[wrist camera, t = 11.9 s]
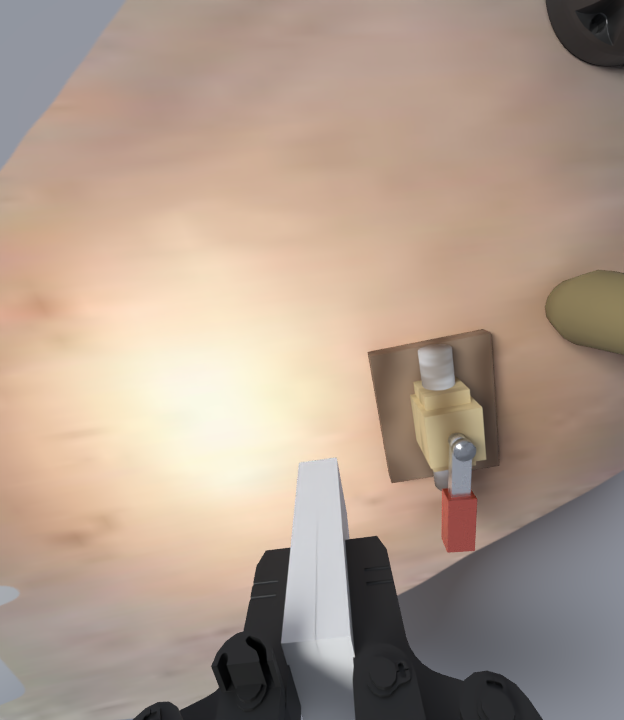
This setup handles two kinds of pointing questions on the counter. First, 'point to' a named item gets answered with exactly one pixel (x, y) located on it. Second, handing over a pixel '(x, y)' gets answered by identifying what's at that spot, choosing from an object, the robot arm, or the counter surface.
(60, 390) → the counter surface
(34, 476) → the counter surface
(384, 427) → the valve board
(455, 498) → the lever
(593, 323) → the squeeze bottle
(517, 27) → the counter surface
